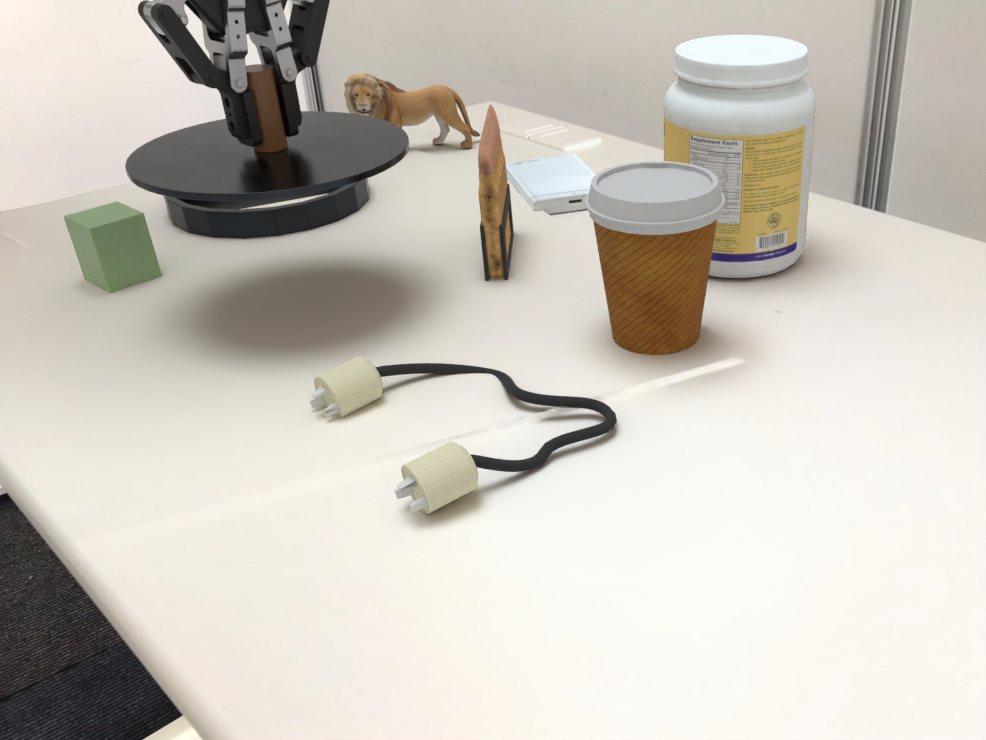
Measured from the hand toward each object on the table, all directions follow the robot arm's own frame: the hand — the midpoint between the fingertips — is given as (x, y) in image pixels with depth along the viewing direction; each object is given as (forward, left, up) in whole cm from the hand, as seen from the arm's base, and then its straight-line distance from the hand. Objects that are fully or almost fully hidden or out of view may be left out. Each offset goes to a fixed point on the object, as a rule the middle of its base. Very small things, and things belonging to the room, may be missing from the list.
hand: (268, 138), depth 75 cm
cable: (+4, -23, -14) cm, 27 cm away
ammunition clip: (+17, +1, -14) cm, 22 cm away
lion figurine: (+21, +35, -14) cm, 43 cm away
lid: (0, 0, -1) cm, 1 cm away
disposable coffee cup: (+21, -19, -14) cm, 31 cm away
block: (-12, +13, -13) cm, 22 cm away
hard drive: (+29, +15, -14) cm, 35 cm away
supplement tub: (+35, -8, -14) cm, 38 cm away
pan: (+3, +25, -13) cm, 28 cm away
